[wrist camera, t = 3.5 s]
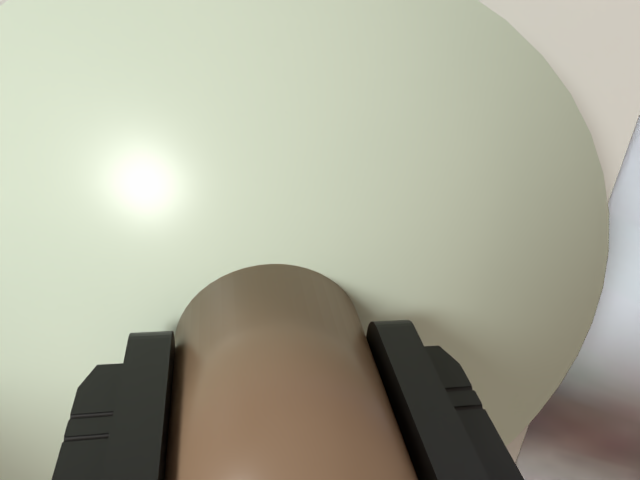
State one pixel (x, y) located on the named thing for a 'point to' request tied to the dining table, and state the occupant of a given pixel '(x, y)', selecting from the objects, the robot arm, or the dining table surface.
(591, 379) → the dining table surface
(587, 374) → the dining table surface
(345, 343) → the lid
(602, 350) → the dining table surface
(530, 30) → the mat
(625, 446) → the dining table surface
